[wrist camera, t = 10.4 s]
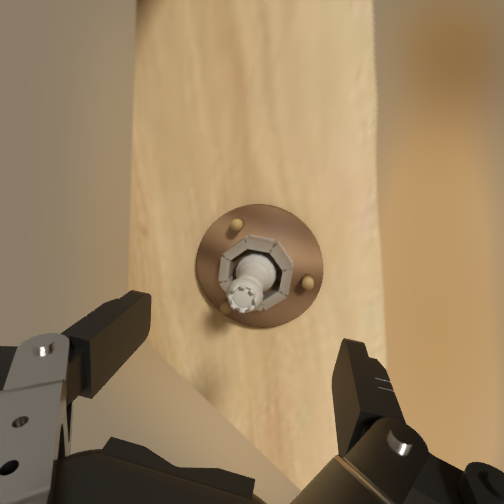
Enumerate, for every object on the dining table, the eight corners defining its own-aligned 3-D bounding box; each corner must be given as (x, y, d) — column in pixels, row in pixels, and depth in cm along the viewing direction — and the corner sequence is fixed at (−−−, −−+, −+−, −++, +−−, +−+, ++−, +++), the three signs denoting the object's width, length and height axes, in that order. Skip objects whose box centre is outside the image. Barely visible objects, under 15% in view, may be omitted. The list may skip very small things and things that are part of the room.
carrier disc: (206, 194, 32) (195, 197, 29) (335, 216, 31) (338, 221, 28) (195, 308, 37) (185, 321, 34) (309, 333, 35) (309, 349, 32)
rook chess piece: (285, 277, 32) (278, 311, 25) (251, 294, 33) (234, 331, 26) (264, 242, 31) (250, 265, 24) (230, 261, 33) (206, 289, 25)
